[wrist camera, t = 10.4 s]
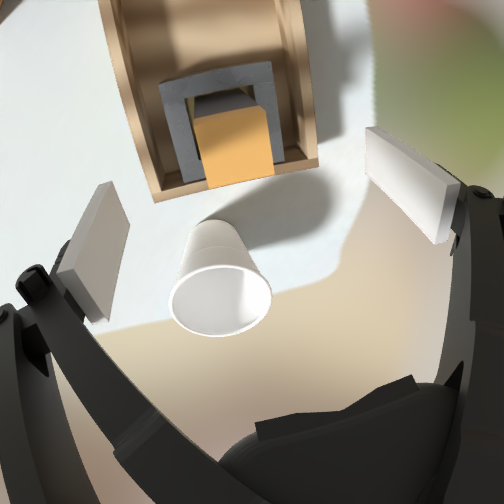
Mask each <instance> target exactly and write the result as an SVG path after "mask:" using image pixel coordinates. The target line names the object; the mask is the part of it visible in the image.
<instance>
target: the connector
mask: <svg viewBox="0 0 504 504" xmlns="http://www.w3.org/2000/svg"><path fill="white" fill-rule="evenodd" d="M194 130H195V134H196V138H197V142H198V147H199V151H200V155H201V159H202V163H203V167H204V171H205V175H206V179H207V183H208V187H209V189H212V188H216V187H220V186H225V185H229V184H233V183H238V182H242V181H247V180H252V179H256V178H261V177H266V176H271V175H275V172H274V165H273V158H272V151H271V144H270V137H269V131H268V124H267V117H266V111H265V110H264V109H263V108H262V107H261V106H259V105H258V104H257V103H256V102H255V101H254V100H253V99H252V98H251V97H249V96H248V95H247V94H246V93H245V92H244V91H243V90H241V89H240V88H237V89H232V90H227V91H222V92H217V93H213V94H208V95H204V96H199V97H195V98H194Z"/></svg>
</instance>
